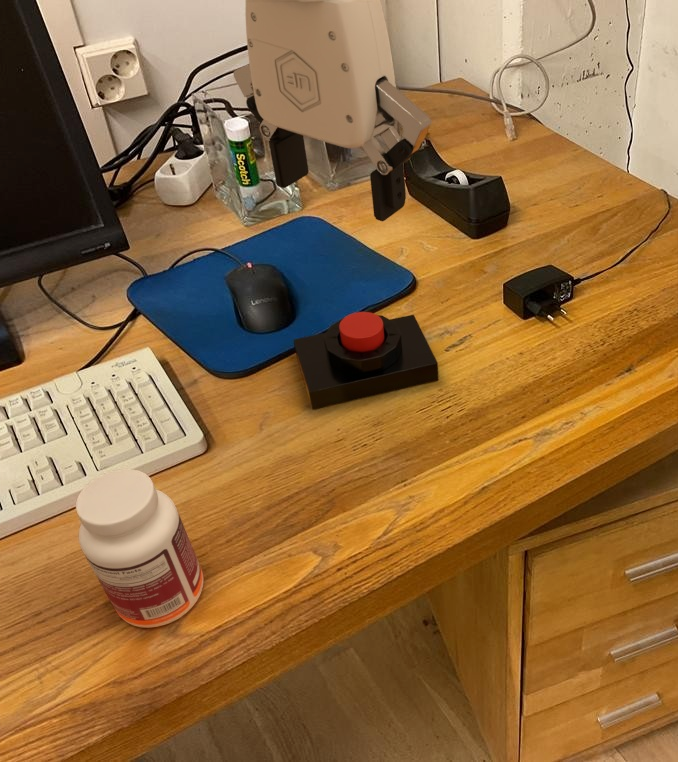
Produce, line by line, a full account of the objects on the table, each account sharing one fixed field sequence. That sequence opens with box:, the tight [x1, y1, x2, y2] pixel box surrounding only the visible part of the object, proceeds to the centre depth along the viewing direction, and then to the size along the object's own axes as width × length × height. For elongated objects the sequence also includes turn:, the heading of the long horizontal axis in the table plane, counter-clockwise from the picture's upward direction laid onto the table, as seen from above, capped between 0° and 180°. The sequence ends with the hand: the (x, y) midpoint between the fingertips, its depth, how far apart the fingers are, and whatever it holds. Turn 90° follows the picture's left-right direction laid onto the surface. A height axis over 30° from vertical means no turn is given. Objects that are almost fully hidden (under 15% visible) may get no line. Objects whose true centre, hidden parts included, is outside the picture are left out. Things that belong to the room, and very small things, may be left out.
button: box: [339, 311, 384, 352], centre depth 75 cm, size 4×4×2 cm
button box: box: [292, 314, 439, 411], centre depth 77 cm, size 12×8×4 cm, turn 111°
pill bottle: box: [75, 468, 204, 628], centre depth 55 cm, size 6×6×11 cm
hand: (340, 196), depth 64 cm, fingers open, 9 cm apart
